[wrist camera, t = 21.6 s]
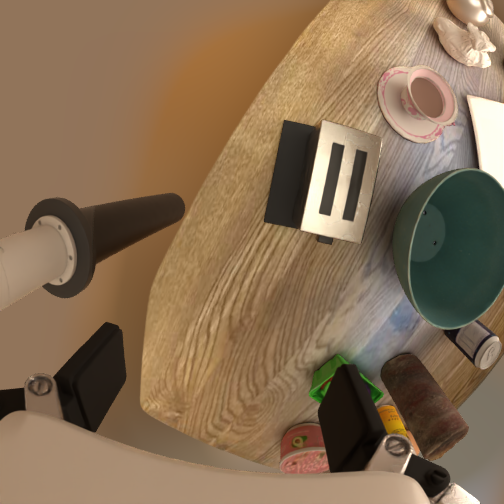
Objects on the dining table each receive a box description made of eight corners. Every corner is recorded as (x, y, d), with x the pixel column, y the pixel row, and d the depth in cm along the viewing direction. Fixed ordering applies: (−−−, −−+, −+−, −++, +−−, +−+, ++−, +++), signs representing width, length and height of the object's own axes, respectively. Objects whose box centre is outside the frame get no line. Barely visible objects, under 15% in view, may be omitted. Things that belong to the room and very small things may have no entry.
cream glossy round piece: (472, 42, 24) (502, 26, 14) (434, 7, 23) (460, -16, 13) (478, 22, 22) (504, 7, 12) (443, -10, 21) (466, -30, 11)
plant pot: (356, 289, 36) (390, 334, 25) (372, 157, 32) (420, 149, 20) (450, 291, 36) (494, 324, 24) (469, 181, 31) (523, 187, 19)
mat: (263, 220, 35) (263, 222, 34) (283, 121, 31) (284, 119, 30) (359, 241, 35) (361, 243, 34) (379, 147, 31) (382, 146, 30)
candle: (414, 342, 38) (472, 420, 19) (420, 368, 40) (468, 443, 20) (375, 364, 40) (420, 454, 20) (385, 389, 41) (423, 471, 22)
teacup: (360, 98, 30) (377, 84, 24) (401, 53, 27) (419, 38, 21) (420, 161, 31) (445, 159, 25) (454, 111, 29) (478, 104, 23)
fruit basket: (377, 376, 40) (398, 421, 29) (338, 405, 42) (350, 452, 31) (339, 343, 39) (358, 392, 28) (297, 377, 41) (303, 429, 30)
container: (339, 419, 43) (347, 450, 35) (319, 448, 46) (323, 476, 38) (287, 415, 43) (289, 449, 35) (272, 445, 46) (272, 475, 38)
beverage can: (440, 339, 38) (474, 377, 26) (442, 312, 37) (482, 348, 25) (463, 328, 38) (498, 362, 26) (466, 302, 36) (506, 333, 25)
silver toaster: (357, 146, 31) (383, 137, 23) (338, 237, 34) (358, 254, 26) (308, 133, 31) (322, 118, 23) (289, 227, 34) (297, 241, 26)
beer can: (399, 408, 42) (424, 461, 28) (375, 425, 44) (395, 479, 29) (385, 398, 42) (411, 456, 27) (361, 416, 43) (380, 475, 28)
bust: (419, 33, 27) (438, 37, 20) (435, 6, 21) (458, 4, 14) (469, 75, 28) (496, 91, 21) (486, 49, 22) (516, 61, 15)
